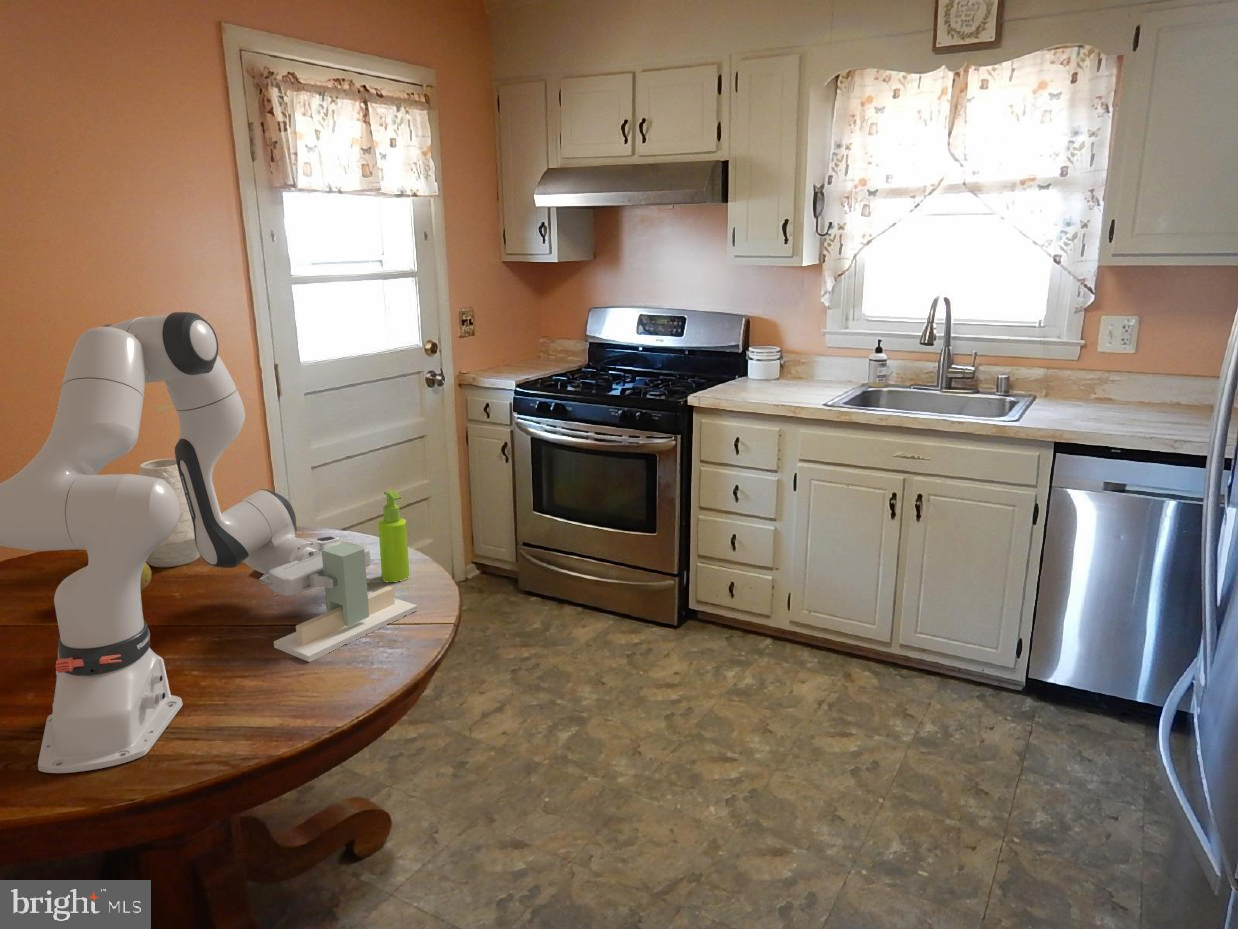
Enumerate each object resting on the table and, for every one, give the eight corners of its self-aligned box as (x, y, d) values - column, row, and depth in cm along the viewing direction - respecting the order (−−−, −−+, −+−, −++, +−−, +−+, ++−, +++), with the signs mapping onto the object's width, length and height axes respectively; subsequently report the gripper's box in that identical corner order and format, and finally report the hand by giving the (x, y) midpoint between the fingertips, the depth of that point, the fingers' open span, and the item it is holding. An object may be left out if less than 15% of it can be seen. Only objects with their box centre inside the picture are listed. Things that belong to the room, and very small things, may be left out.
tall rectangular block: (348, 626, 161) (342, 556, 157) (327, 618, 164) (321, 550, 160) (369, 617, 165) (364, 548, 161) (348, 609, 168) (343, 542, 164)
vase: (208, 569, 193) (196, 470, 187) (122, 576, 189) (107, 475, 183) (221, 543, 209) (210, 451, 203) (142, 549, 205) (129, 456, 199)
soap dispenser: (389, 586, 184) (384, 498, 179) (377, 576, 190) (372, 490, 185) (415, 580, 188) (410, 493, 183) (403, 570, 193) (398, 486, 188)
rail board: (309, 662, 152) (307, 638, 150) (274, 647, 157) (271, 624, 156) (417, 610, 173) (416, 589, 171) (383, 599, 178) (381, 578, 177)
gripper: (252, 563, 159) (300, 579, 152) (341, 533, 176) (387, 546, 169) (256, 594, 161) (303, 612, 154) (343, 562, 178) (389, 576, 170)
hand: (348, 577), depth 161 cm, fingers closed on tall rectangular block, 5 cm apart
